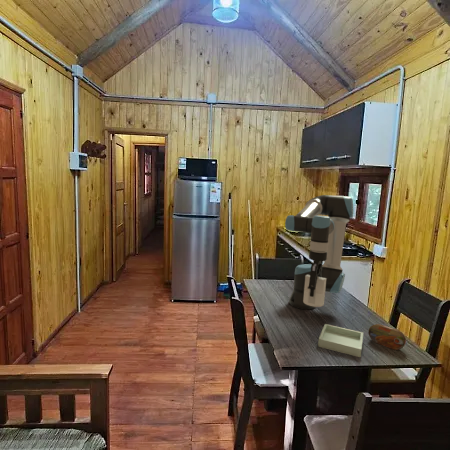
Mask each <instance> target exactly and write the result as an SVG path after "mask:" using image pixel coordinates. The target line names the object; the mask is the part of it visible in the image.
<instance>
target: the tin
mask: <svg viewBox="0 0 450 450" xmlns="http://www.w3.org/2000/svg"><path fill="white" fill-rule="evenodd" d="M367 334H368V336H369V338H370V340H371V341H372V342H374V343H375V344H378V345H380V346H384V347H387V348H389V349H392V350H395V351H399V350H401V349H403V348H404V346H405V345H406V344H407V343H406V342H407V340H406V337H405V334H404V333H403V332H402V331H400V330H399V329H395V328H392V327H389V326H387V325H383V324H380V323H375V324H372V325H371V326H370V327H369V328H368V333H367Z"/></svg>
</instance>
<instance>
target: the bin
mask: <svg viewBox="0 0 450 450" xmlns="http://www.w3.org/2000/svg"><path fill="white" fill-rule="evenodd" d="M363 338H364V332H363V331H358V330H353V329H349V328H344V327H341V326H340V327H339V326H336V325H331V324H327V323H324V326H322V330H321V332H320V334H319V337H318V340H317V341H318V343H317V347H318V348H319V347H320V348H322V349H327V350H330V351H334V352H338V353H341V354H346V355H350V356H353V357H357V358H361V356H362V349H363V341H364V339H363Z"/></svg>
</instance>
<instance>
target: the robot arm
mask: <svg viewBox="0 0 450 450" xmlns="http://www.w3.org/2000/svg"><path fill="white" fill-rule="evenodd" d="M352 218H354V200H353V198H352V197H351V196H346V195H345V196H344V195H327V194H322V195H319V196H314V197H312V198H311V199H309V200H308V201H306V203H305V205H304V207H303V208H302V209H301V210H300V211H299V212H298V213H297V214H295V215H293V214H292V215H289V214H288V215H287V216H286V218H285V223H284V224H285V225H284V226H285V229H286V231H291V232H296V233H306V234H307V233H308V234H310V241H309V242H308V245H309V253H308V258H309V260H312V261H313V262H312V263H309V264H307V263H306V264H298V265H297V266H296V267H295V269H294V275H293V276H294V277H293V278H294V280H293V288H292V289H293V290H292V293H291V294H290V297H289V301H288V303H289V305H291V306H292V307H295V308H297V309H301V310H312V309H315V308H316V307H313V306H309V305H306V304H305V303H304V302H303V298H304V287H305V276H306V275H310V280H309V287H308V289H309V299H308V303H312V304H315V296H316V283H317V277H322V278H326V288H325V293H326V292H327V293H329V294H331V293H333V294H339V293H340V292H341V291H342V288H343V285H344V281H345V276H346V273H344V272H343V270H344V269H343V268H342V267H341V265H342V263H341V262H342V256H343V249H344V243H345V242H344V241H345V234H346V226H347V224H348V223H349V222H350V219H352Z"/></svg>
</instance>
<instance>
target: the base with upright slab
mask: <svg viewBox="0 0 450 450" xmlns="http://www.w3.org/2000/svg"><path fill="white" fill-rule="evenodd" d="M309 280H310V275H306V276H305V287H304V298H303V302H304V303H305V304H306V305H309V306H313V307H315V308H320V307H324V305H325V304H324V303H325V299H326V297H325V296H326V291H325V288H326V278H322V277H317V283H316V296H315V304H312V303H308V299H309V289H308V287H309Z"/></svg>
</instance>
